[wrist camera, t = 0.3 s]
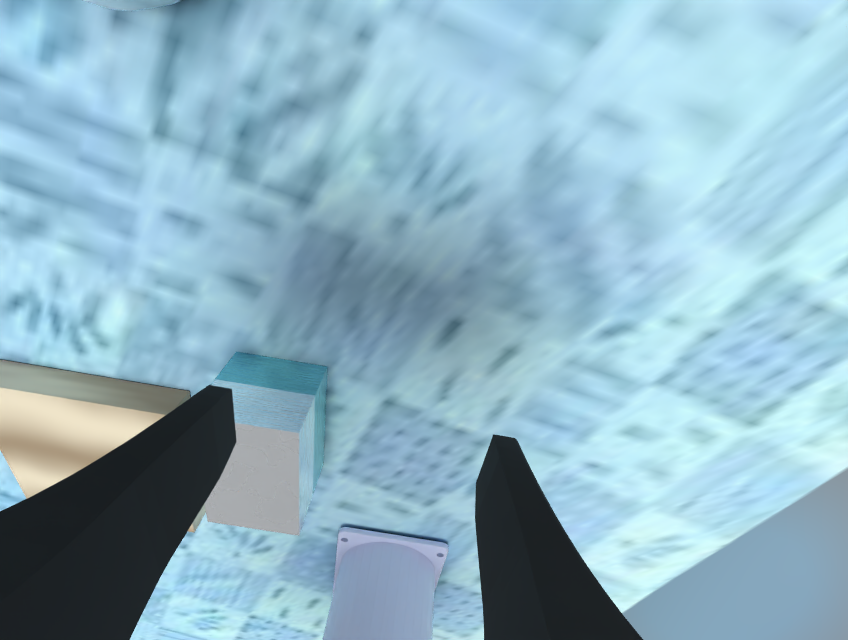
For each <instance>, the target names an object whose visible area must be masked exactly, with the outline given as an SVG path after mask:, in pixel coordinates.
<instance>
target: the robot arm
mask: <svg viewBox="0 0 848 640" xmlns="http://www.w3.org/2000/svg"><path fill="white" fill-rule="evenodd" d="M236 442H237V441H236V429H235V418H234V406H233V395H232V389H230V388H224V387H219V386H213V385H209V386H207V387H206V388H204V389H203V390H201V391H200V392H198V393H197V394H195V395H194V396H192V397H191V398H190V399H188V400H187V401H185V402H184V403H182V404H181V405H180V406H178V407H177V408H175V409H174V410H172V411H171V412H169V413H168V414H167V415H165V416H164V417H162V418H161V419H159V420H158V421H156V422H155V423H153V424H152V425H150V426H149V427H147V428H146V429H144V430H143V431H141V432H140V433H138V434H137V435H136V436H134V437H133V438H131V439H129V440H128V441H126V442H125V443H123V444H122V445H120V446H118V447H117V448H115V449H114V450H112V451H110V452H109V453H107V454H106V455H104V456H102V457H101V458H99V459H97V460H96V461H94V462H93V463H91V464H89V465H88V466H86V467H84V468H82V469H81V470H79V471H77V472H76V473H74V474H72V475H70V476H69V477H67V478H65V479H63V480H61V481H59V482H58V483H56V484H54V485H52V486H50V487H48V488H46V489H45V490H43V491H41V492H39V493H37V494H35V495H33V496H31V497H29V498H27V499H25V500H23V501H21V502H19V503H17V504H15V505H13V506H11V507H9V508H7V509H5V510H2V511H0V640H130V638H131V635H132V633H133V631H134V629H135V627H136V625H137V623H138V621H139V619H140V617H141V615H142V613H143V611H144V609H145V607H146V605H147V603H148V601H149V599H150V597H151V595H152V593H153V591H154V589H155V587H156V585H157V583H158V581H159V579H160V577H161V575H162V573H163V571H164V570H165V568H166V566H167V564H168V562H169V561H170V559H171V557H172V556H173V554H174V552H175V551H176V549H177V547H178V546H179V544H180V543H181V541H182V539H183V538H184V536H185V534H186V533H187V531H188V530H189V528H190V526H191V525H192V523H193V521H194V520H195V518H196V517H197V515H198V513H199V512H200V510H201V508H202V507H203V505H204V504H205V502H206V500H207V499H208V497H209V495H210V494H211V492H212V490H213V489H214V487H215V485H216V484H217V482H218V480H219V479H220V477H221V475H222V473H223V471H224V468H225V466H226V464H227V462H228V460H229V458H230V455H231V453H232V451H233V449H234V446H235V444H236ZM475 522H476V535H477V546H478V558H479V569H480V580H481V591H482V602H483V616H484V640H643V639H642V638H641V637H640V636H639V634H638V633H637V632H636V631H635V629H634V628H633V627H632V626H631V624H630V623H629V622H628V621H627V619H625V617H624V616H623V615H622V613H621V612H620V611H619V609H618V608H617V607H616V605H615V604H614V603H613V601H612V600H611V599H610V597H609V596H608V595H607V593H606V592H605V591H604V589H603V588H602V586H601V585H600V584H599V582H598V581H597V579H596V578H595V576H594V575H593V574H592V572H591V571H590V569H589V568H588V566H587V565H586V563H585V562H584V560H583V559H582V557H581V556H580V554H579V553H578V551H577V550H576V548H575V546H574V545H573V543H572V542H571V540H570V538H569V537H568V535H567V534H566V532H565V530H564V529H563V527H562V525H561V524H560V522H559V520H558V518H557V517H556V515H555V513H554V511H553V510H552V508H551V506H550V504H549V502H548V501H547V499H546V497H545V495H544V493H543V492H542V490H541V488H540V486H539V484H538V482H537V480H536V478H535V476H534V474H533V472H532V470H531V468H530V466H529V464H528V462H527V460H526V458H525V456H524V454H523V452H522V450H521V448H520V445H519V443H518V441H517V440H516V439H515V438H511V437H505V436H500V435H493V437H492V440H491V443H490V446H489V448H488V451H487V454H486V457H485V459H484V462H483V465H482V468H481V471H480V473H479V476H478V479H477V482H476V504H475ZM447 554H448V545H447V544H446V543H443V542H437V541H430V540H424V539H418V538H412V537H406V536H399V535H393V534H387V533H381V532H374V531H368V530H362V529H356V528H349V527H342V528H340V530H339V533H338V542H337V552H336V563H335V574H334V584H333V597H332V602H331V606H330V610H329V614H328V619H327V623H326V627H325V631H324V636H323V640H432V631H433V607H434V592H435V589H436V586H437V583H438V580H439V577H440V574H441V572H442V569H443V566H444V563H445V560H446V557H447Z"/></svg>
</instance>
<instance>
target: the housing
mask: <svg viewBox="0 0 848 640" xmlns="http://www.w3.org/2000/svg"><path fill="white" fill-rule="evenodd" d="M327 369H328V367H327V366H321V365H314V364H308V363H302V362H296V361H290V360H284V359H278V358H272V357H266V356H260V355H254V354H248V353H242V352H236V353H235V354H234V355H233V357H232V358H231V359H230V361H229V362H228V363H227V364H226V366H225V367H224V368H223V370H222V371H221V372H220V373H219V375H218V376H217V377H216V379H215V380H214V381H213V383H212V384H211V385H213V386H219V387H224V388H230V389H232V395H233V406H234V418H235V429H236V441H237V442H236V444H235V446H234V449H233V451H232V453H231V455H230V458H229V460H228V462H227V464H226V466H225V468H224V471H223V473H222V475H221V477H220V479H219V480H218V482H217V484H216V485H215V487H214V489H213V490H212V492H211V494H210V495H209V497H208V499H207V500H206V502H205V509H206V514H207V519H208V522H214V523H221V524H227V525H234V526H240V527H247V528H253V529H260V530H266V531H273V532H279V533H286V534H292V535H300V532H301V529H302V526H303V523H304V520H305V517H306V514H307V511H308V508H309V505H310V502H311V499H312V496H313V493H314V490H315V487H316V484H317V481H318V478H319V475H320V472H321V469H322V466H323V461H324V438H325V415H326V392H327Z"/></svg>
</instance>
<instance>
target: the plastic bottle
mask: <svg viewBox="0 0 848 640" xmlns="http://www.w3.org/2000/svg"><path fill="white" fill-rule="evenodd" d="M83 1H85V2H88V3H91V4H94V5H98V6H101V7H104V8H107V9H110V10H123V11H136V10H143V9H151V8H158V7H163V6H168V5H173V4H175V3H177V2H179V1H181V0H83Z"/></svg>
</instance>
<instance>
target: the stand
mask: <svg viewBox="0 0 848 640" xmlns="http://www.w3.org/2000/svg"><path fill="white" fill-rule="evenodd" d="M190 398H191V397H190V391H185V390H179V389H173V388H167V387H161V386H155V385H149V384H143V383H137V382H131V381H125V380H119V379H113V378H107V377H102V376H96V375H90V374H84V373H78V372H72V371H66V370H60V369H54V368H48V367H42V366H36V365H30V364H24V363H18V362H12V361H6V360H0V450H1V452H2V453H3V455H4V457H5V459H6V461H7V463H8V465H9V466H10V468H11V470H12V472H13V474H14V476H15V478H16V480H17V481H18V483H19V485H20V487H21V489H22V491H23V493H24V494H25V496H26V498H29V497H31V496H33V495H35V494H37V493H39V492H41V491H43V490H45V489H46V488H48V487H50V486H52V485H54V484H56V483H58V482H59V481H61V480H63V479H65V478H67V477H69V476H70V475H72V474H74V473H76V472H77V471H79V470H81V469H82V468H84V467H86V466H88V465H89V464H91V463H93V462H94V461H96V460H97V459H99V458H101V457H102V456H104V455H106V454H107V453H109V452H110V451H112V450H114V449H115V448H117V447H118V446H120V445H122V444H123V443H125V442H126V441H128V440H129V439H131V438H133V437H134V436H136V435H137V434H138V433H140V432H141V431H143V430H144V429H146V428H147V427H149V426H150V425H152V424H153V423H155V422H156V421H158V420H159V419H161V418H162V417H164V416H165V415H167V414H168V413H169V412H171V411H172V410H174V409H175V408H177V407H178V406H180V405H181V404H182V403H184V402H185V401H187V400H188V399H190ZM205 513H206V509H205V504H204V505H203V507H202V508H201V510H200V512H199V513H198V515H197V517H196V518H195V520H194V521H193V523H192V525H191V526H190V528H189V530H188V531H189V532H195V531H196V529H197V527H198V525H199V524H200V522H201V520H202V518H203V516H204V515H205Z"/></svg>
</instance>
